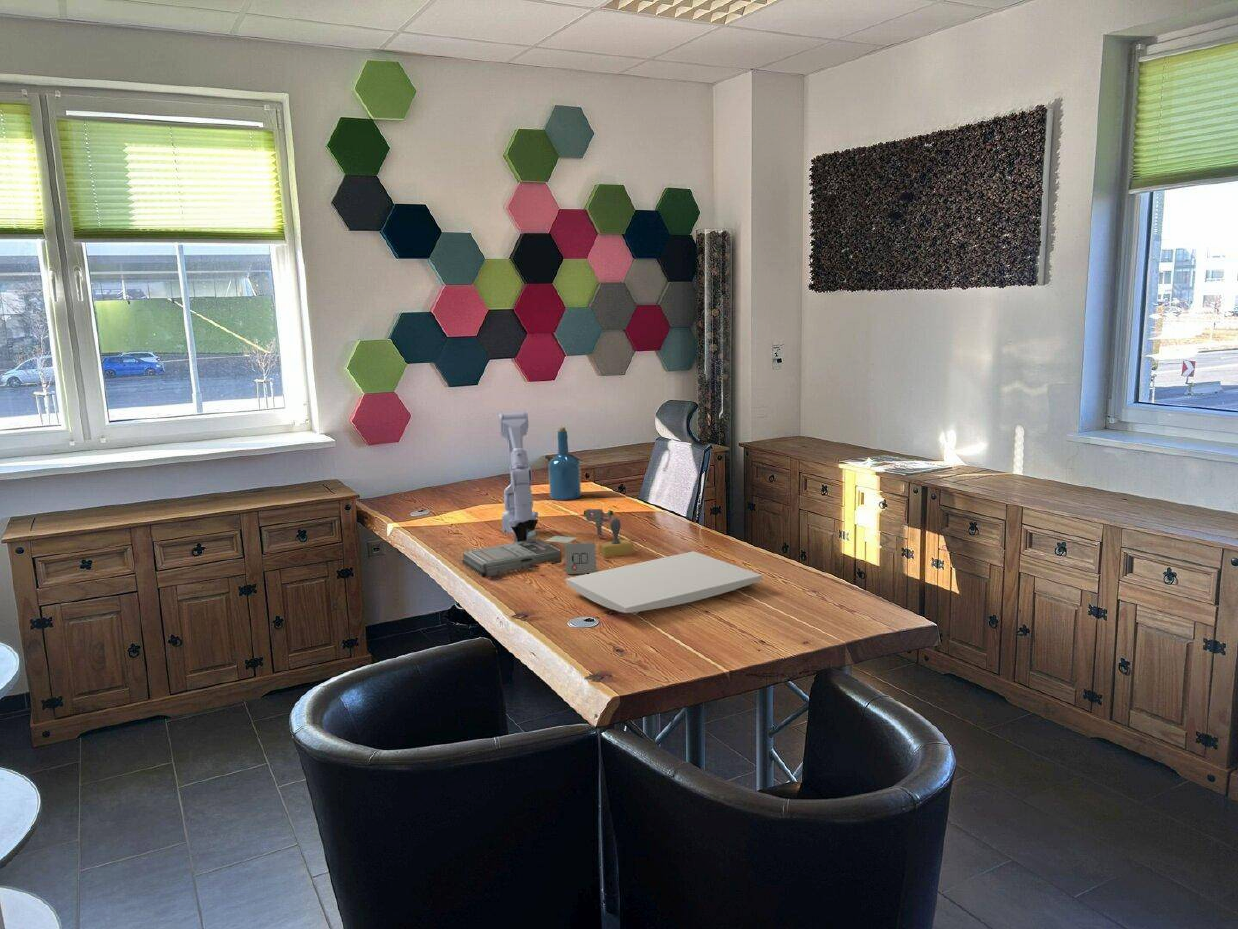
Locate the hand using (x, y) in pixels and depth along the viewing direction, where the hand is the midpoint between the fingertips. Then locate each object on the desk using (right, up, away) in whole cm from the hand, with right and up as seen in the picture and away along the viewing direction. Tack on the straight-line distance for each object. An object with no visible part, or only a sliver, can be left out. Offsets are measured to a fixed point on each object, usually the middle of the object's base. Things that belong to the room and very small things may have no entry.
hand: (525, 542), depth 312 cm
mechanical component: (+25, +1, +11) cm, 27 cm away
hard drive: (-3, -6, -16) cm, 17 cm away
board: (+44, -10, -51) cm, 68 cm away
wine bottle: (+9, +12, +80) cm, 81 cm away
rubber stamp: (+31, -3, -10) cm, 32 cm away
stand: (+12, -1, +5) cm, 13 cm away
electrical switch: (+20, -7, -29) cm, 35 cm away
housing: (0, -1, 0) cm, 1 cm away
